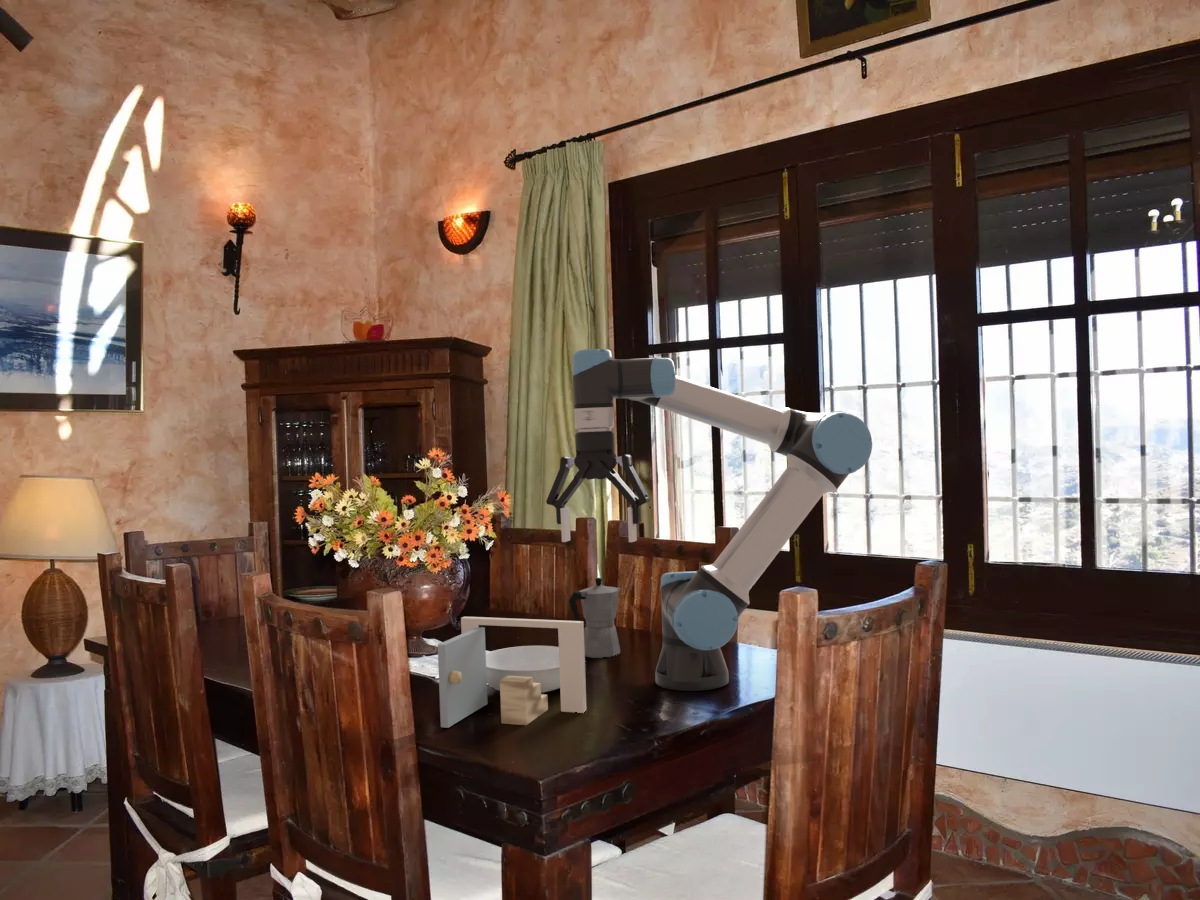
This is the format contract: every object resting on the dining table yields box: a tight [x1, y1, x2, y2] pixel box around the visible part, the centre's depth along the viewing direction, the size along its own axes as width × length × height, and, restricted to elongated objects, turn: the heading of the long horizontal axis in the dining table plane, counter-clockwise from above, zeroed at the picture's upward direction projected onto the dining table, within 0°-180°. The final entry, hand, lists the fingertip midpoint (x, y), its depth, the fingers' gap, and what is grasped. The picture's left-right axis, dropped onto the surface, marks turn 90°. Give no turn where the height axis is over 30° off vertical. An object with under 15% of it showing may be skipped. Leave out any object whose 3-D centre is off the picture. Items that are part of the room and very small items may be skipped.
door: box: [437, 626, 488, 729], centre depth 183 cm, size 16×3×15 cm, turn 160°
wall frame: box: [460, 616, 587, 714], centre depth 188 cm, size 25×2×17 cm, turn 70°
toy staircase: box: [499, 676, 549, 726], centre depth 182 cm, size 10×5×8 cm, turn 160°
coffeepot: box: [568, 577, 622, 659], centre depth 230 cm, size 15×9×18 cm, turn 129°
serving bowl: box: [486, 645, 560, 694], centre depth 201 cm, size 21×21×7 cm
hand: (599, 541), depth 187 cm, fingers open, 13 cm apart
